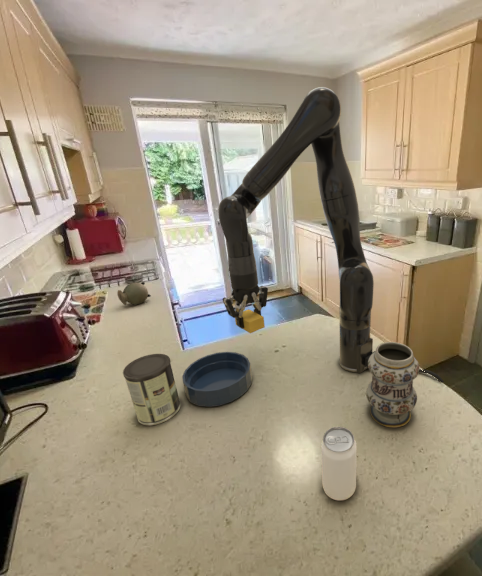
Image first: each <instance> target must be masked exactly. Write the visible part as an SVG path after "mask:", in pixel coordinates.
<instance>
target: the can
mask: <svg viewBox="0 0 482 576" xmlns="http://www.w3.org/2000/svg"><path fill="white" fill-rule="evenodd" d="M320 454H321V455H320V457H321V482H322V483H321V484H322V488H323V492H324V493H325V494H326V496H327V497H329V498H330V499H332V500H335V501H345V500H348V499H349V498H351V497H352V496H353V495H354V493H355V492H356V489H357V488H356V487H357V442H356V440H355V436H354V433H353V432H352V431H351V430H350V429H348V428H347V427H344V426H332V427H330V428H328V429H327V430H326V431H325V432H324V434H323V436H322V440H321V444H320Z"/></svg>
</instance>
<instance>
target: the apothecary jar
mask: <svg viewBox="0 0 482 576" xmlns="http://www.w3.org/2000/svg"><path fill="white" fill-rule="evenodd" d="M375 351H376V352H374V351H373V352H374V353H373V354H372V355H371V356H370V358H369V360H368V368H367V369H368V370H369V372H370V373H371V375H372V376H371V377H372V378H371V381H370V382H369V383H368V385H367V387H366V389H365V396H366V399H367V401H368V403H369V404H370V405H371V406H370V410H369V413H370V416H371V417H372V420H374V421H375V422H376V423H377V424H379V425H381V426H383V427H386V428H401V427H404V426H405V425H407V424H408V423H409V422H410V420H411V419H412V413H411V411H412V410H414V408H415V406H416V405H417V402H418V394H417V391H416V389H415V388H414V386H413V385H414V380H415V379H416V378H417V377H418V376H419V374H420V372H419V369H421V368H420V363H419V361H418V359H416V358H417V357H415V356H414V352H413V350H412V348H410V347H409V346H408V345H406V344H404V343H401V342H397V341H385V342H382V343H380V344H378V345H377V346H376V349H375Z"/></svg>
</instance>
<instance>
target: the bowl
mask: <svg viewBox="0 0 482 576" xmlns="http://www.w3.org/2000/svg"><path fill="white" fill-rule="evenodd" d="M181 378H182V385H183V389H184V393H185V397H186V399H187V400H188V401H189V402H190V403H191V404H193V405H195V406H198V407H205V408H206V407H207V408H209V407H210V408H211V407H218V406H223V405H225V404H229V403H232V402H233V401H235V400H237V399H239V398H240V397H242V396H243V395H244V394H245V393H246V392H248V390H249V388H250V387H251V385H252V383H253V372H252V366H251V362H250V359H249V357H247V356H245V354H242V353H239V352H236V351H235V352H234V351H220V352H214V353H210V354H207V355H205V356H202V357H200V358H198V359H196V360H194V361H193V362H192V363H190V364H189V365H188V366H187V368H185V369H184V372H183V374H182V376H181Z"/></svg>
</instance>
